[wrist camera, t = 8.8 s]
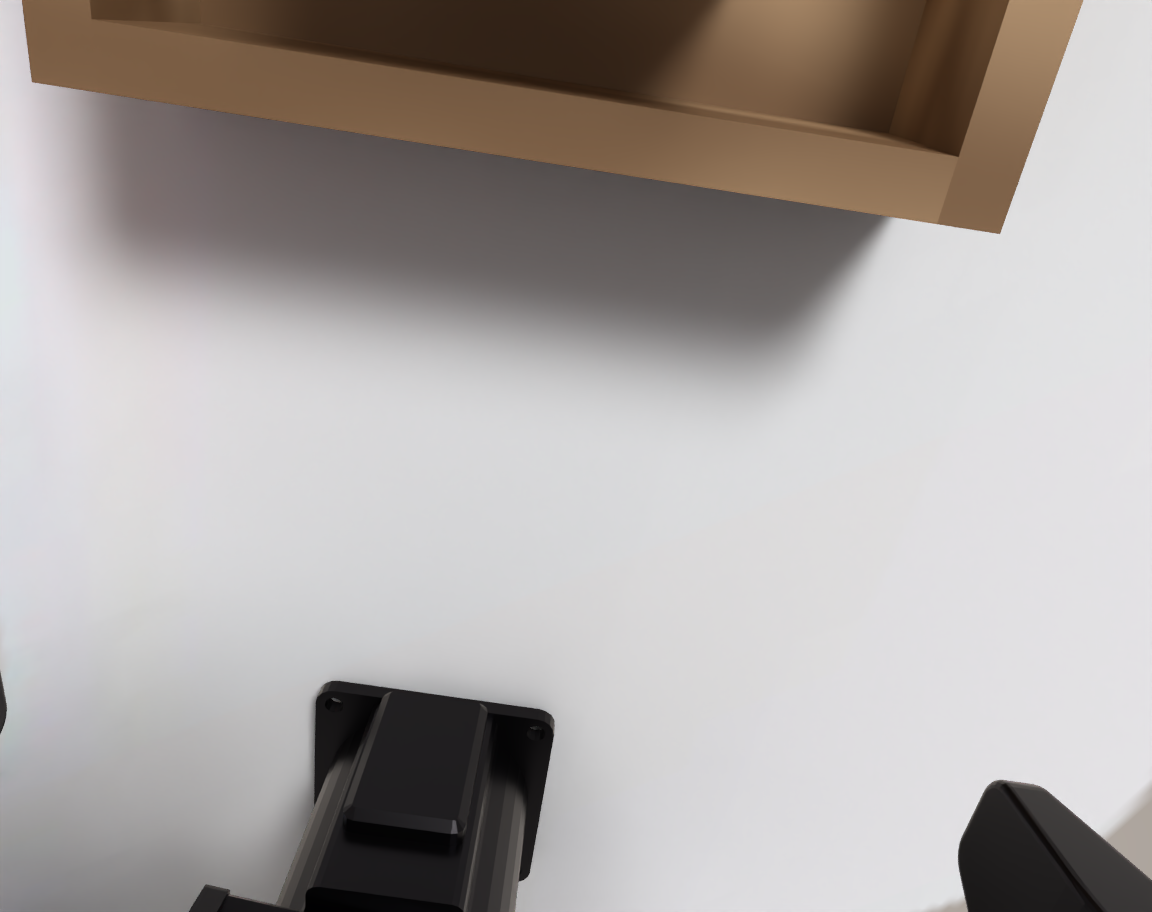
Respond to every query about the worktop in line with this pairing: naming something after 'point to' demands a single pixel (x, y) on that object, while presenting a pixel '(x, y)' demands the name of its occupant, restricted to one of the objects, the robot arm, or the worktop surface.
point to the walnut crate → (618, 84)
